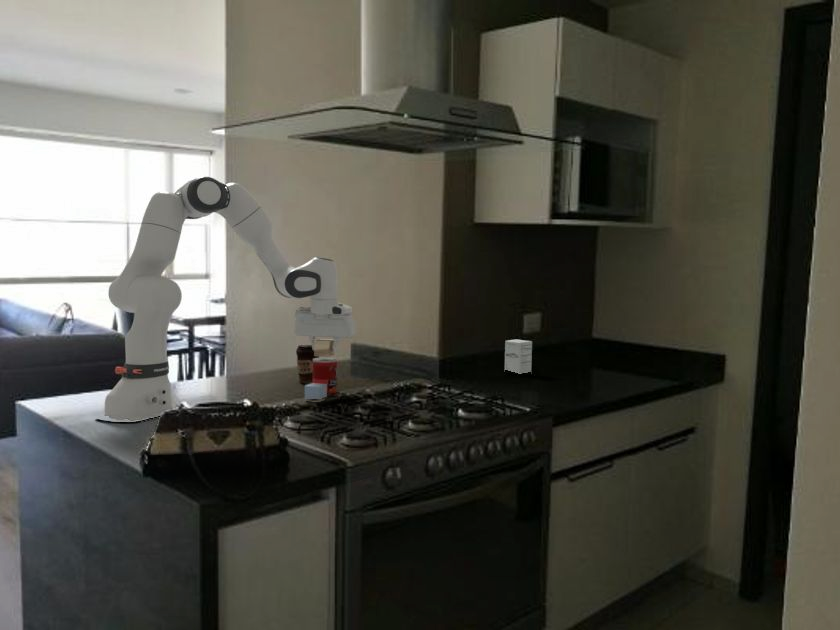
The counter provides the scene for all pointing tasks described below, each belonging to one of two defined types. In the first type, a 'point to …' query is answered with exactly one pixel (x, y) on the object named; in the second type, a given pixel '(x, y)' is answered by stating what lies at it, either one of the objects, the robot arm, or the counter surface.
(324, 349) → the maple block
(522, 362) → the supplement box
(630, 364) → the counter surface
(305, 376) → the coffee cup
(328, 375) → the canned food
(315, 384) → the slate block
